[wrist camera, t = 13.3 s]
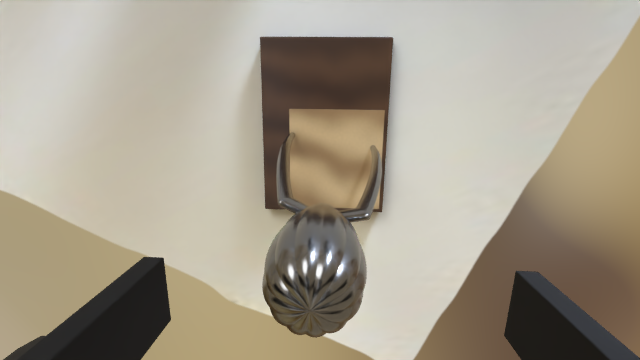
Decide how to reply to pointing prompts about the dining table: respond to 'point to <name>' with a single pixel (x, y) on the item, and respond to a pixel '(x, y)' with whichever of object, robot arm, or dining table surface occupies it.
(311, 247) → the juicer
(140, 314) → the robot arm
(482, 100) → the dining table surface
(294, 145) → the board
